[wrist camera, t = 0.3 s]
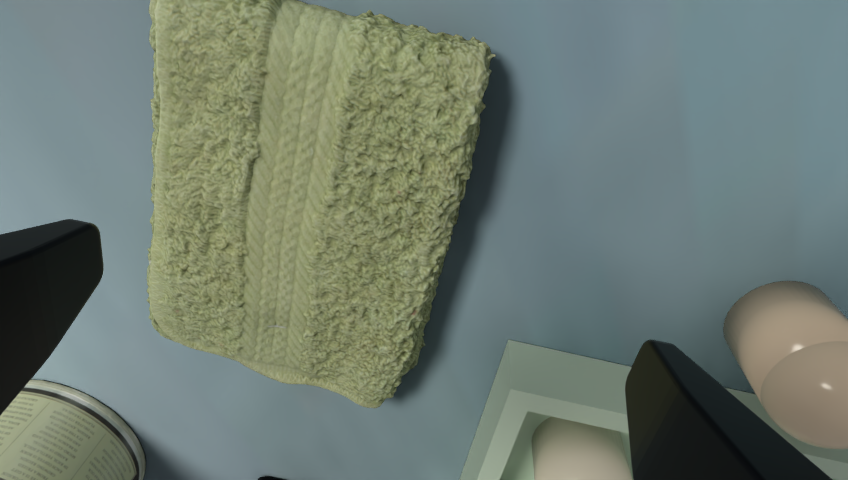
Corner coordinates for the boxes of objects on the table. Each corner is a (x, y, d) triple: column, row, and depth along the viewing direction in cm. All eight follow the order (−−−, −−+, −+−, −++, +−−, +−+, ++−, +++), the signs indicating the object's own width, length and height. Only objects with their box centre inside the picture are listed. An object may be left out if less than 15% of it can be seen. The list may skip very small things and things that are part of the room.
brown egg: (799, 370, 26) (880, 486, 21) (706, 350, 26) (763, 461, 21) (853, 293, 24) (959, 400, 19) (752, 270, 24) (828, 371, 19)
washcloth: (160, 320, 29) (126, 363, 26) (171, -59, 21) (121, -56, 18) (409, 385, 30) (401, 433, 27) (522, 41, 21) (528, 60, 18)
